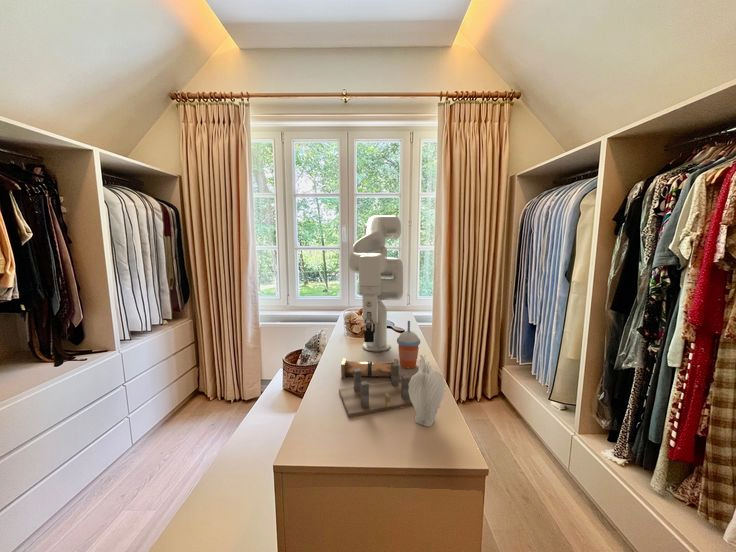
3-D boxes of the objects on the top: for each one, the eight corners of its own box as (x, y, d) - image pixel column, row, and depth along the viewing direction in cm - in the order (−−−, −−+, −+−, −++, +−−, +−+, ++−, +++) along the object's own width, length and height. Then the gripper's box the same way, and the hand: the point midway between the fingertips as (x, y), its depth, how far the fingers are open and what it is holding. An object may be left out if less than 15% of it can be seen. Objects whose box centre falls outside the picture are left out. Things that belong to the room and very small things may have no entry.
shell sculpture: (436, 435, 76) (438, 369, 73) (406, 425, 80) (407, 362, 77) (444, 418, 83) (447, 357, 81) (416, 409, 87) (418, 351, 85)
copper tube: (341, 378, 106) (341, 364, 105) (343, 371, 111) (343, 357, 111) (397, 380, 105) (398, 365, 104) (397, 373, 110) (397, 359, 109)
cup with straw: (419, 371, 111) (420, 325, 109) (395, 369, 113) (395, 323, 111) (420, 361, 120) (421, 318, 118) (397, 359, 122) (398, 317, 119)
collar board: (339, 392, 97) (338, 368, 96) (406, 381, 104) (407, 359, 102) (348, 417, 83) (348, 390, 82) (425, 403, 90) (426, 378, 89)
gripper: (380, 294, 95) (379, 346, 97) (380, 286, 112) (380, 330, 114) (356, 294, 95) (357, 345, 97) (361, 286, 112) (361, 329, 114)
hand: (369, 337), depth 106 cm, fingers open, 9 cm apart
